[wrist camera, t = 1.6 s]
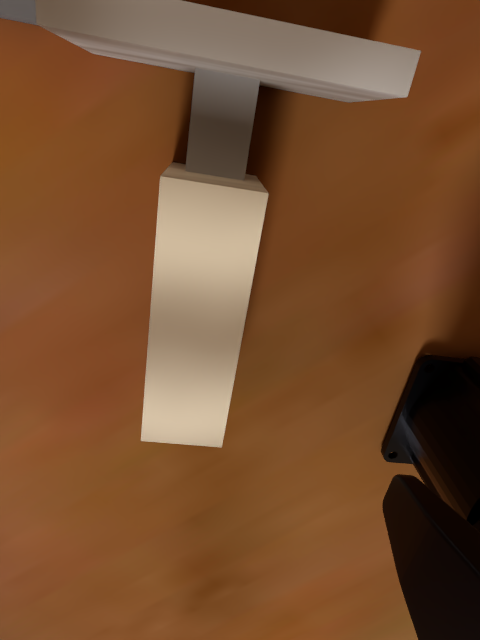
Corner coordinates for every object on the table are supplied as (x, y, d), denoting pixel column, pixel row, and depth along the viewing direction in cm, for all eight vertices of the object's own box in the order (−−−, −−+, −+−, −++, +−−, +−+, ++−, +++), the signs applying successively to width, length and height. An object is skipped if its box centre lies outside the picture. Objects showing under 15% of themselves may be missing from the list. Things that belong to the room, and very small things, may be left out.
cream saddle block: (278, 394, 21) (296, 471, 16) (91, 375, 19) (55, 454, 15) (356, 70, 15) (421, 50, 10) (93, 18, 13) (34, -31, 9)
